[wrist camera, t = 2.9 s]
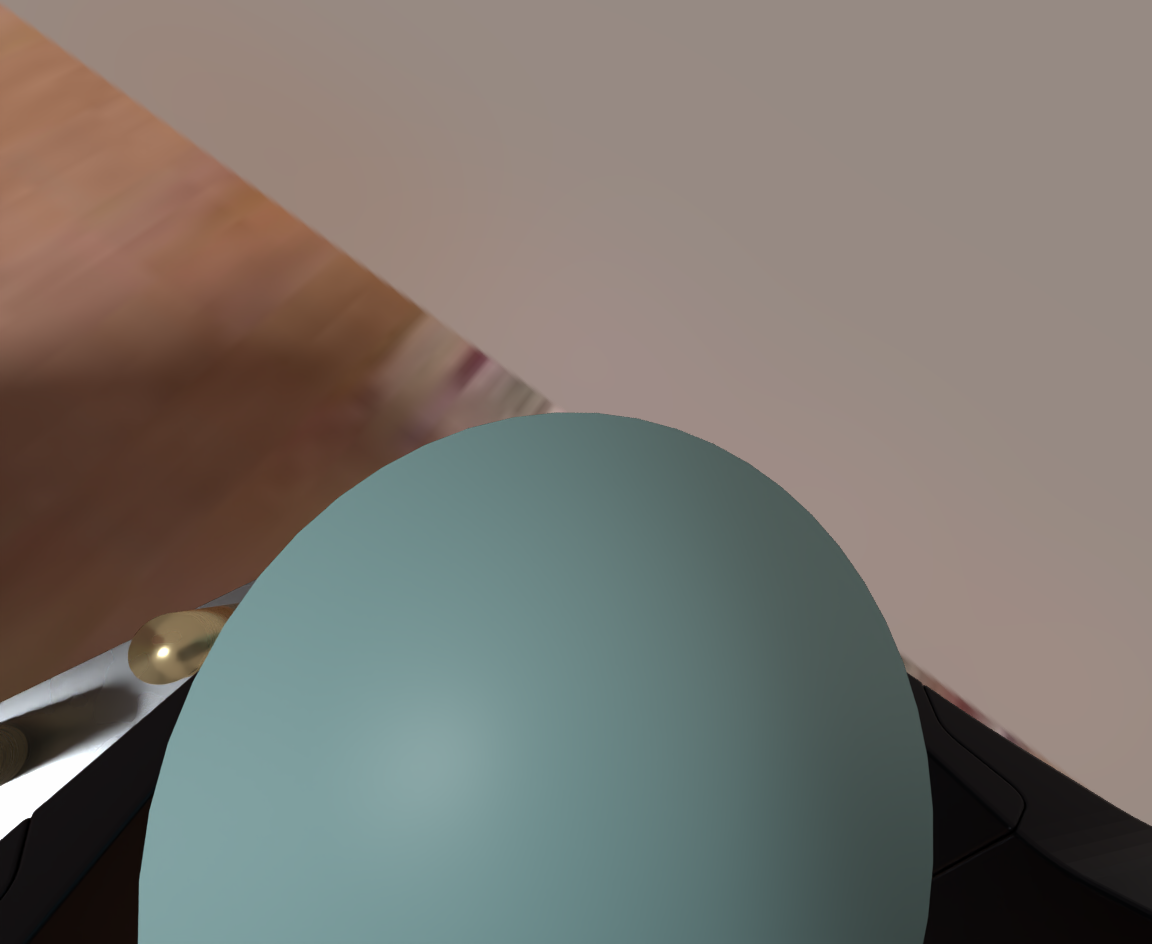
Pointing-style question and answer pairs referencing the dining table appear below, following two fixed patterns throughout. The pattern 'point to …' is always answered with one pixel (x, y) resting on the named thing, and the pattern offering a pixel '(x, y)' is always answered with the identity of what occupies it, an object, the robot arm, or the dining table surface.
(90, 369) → the dining table surface
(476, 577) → the teal rounded cylinder
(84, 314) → the dining table surface
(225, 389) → the dining table surface
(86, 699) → the plate
